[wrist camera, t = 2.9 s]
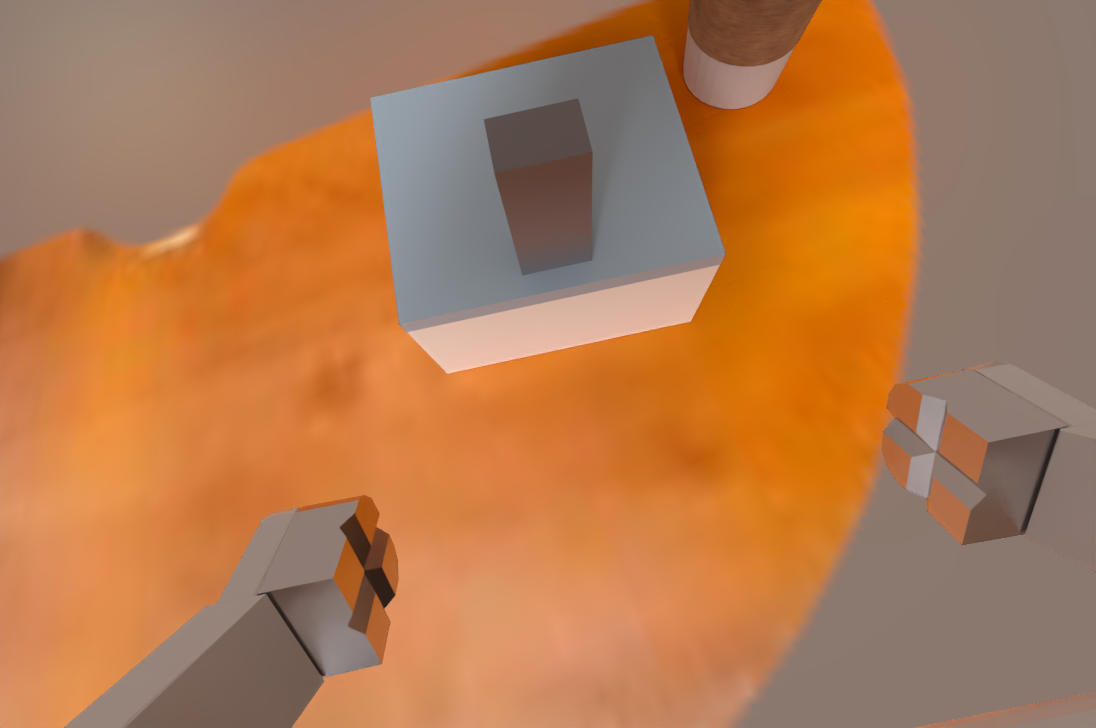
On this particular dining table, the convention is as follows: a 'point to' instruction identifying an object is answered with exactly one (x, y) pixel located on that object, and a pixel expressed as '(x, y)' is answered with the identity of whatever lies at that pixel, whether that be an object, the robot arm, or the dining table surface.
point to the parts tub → (566, 321)
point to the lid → (538, 185)
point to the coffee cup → (741, 47)
